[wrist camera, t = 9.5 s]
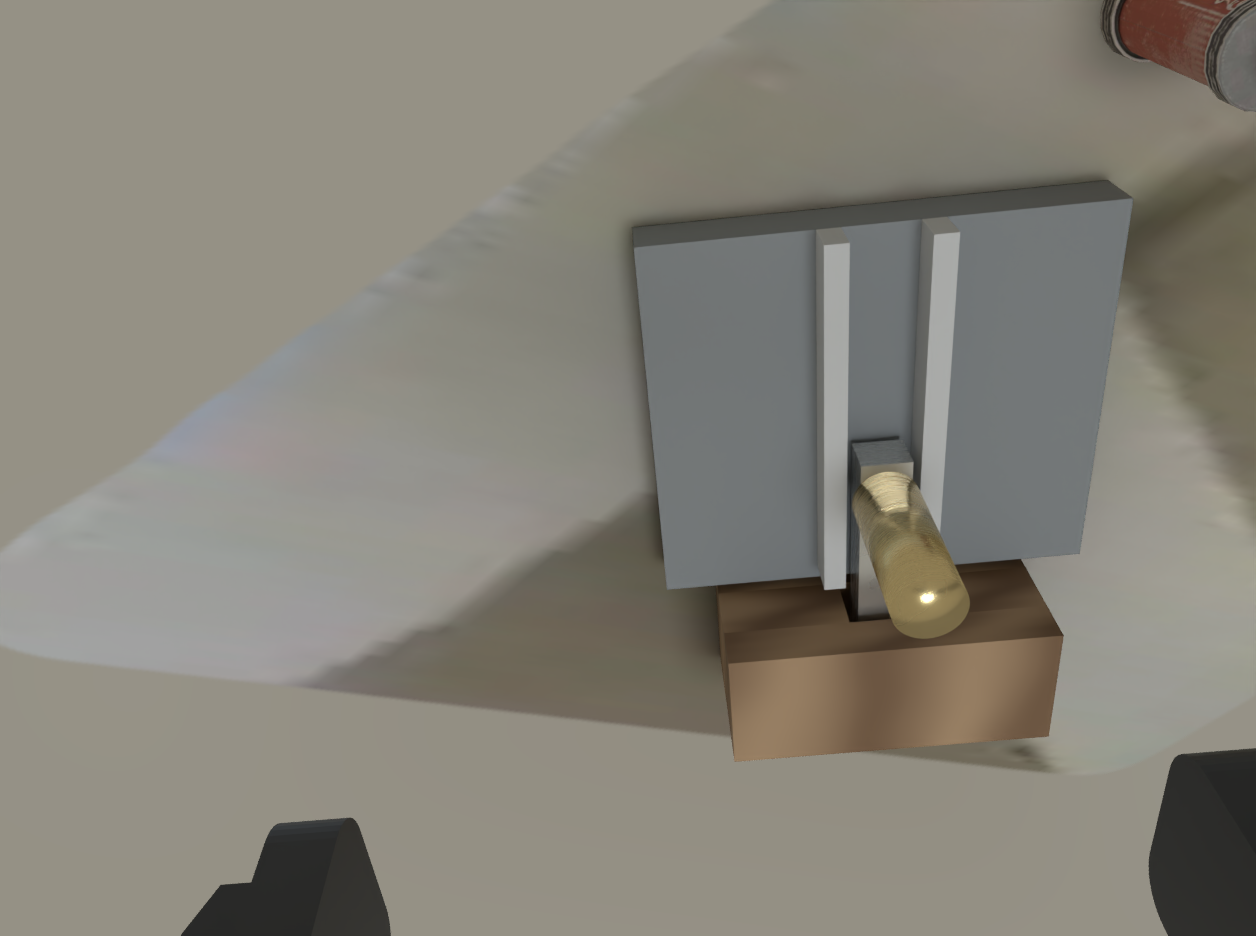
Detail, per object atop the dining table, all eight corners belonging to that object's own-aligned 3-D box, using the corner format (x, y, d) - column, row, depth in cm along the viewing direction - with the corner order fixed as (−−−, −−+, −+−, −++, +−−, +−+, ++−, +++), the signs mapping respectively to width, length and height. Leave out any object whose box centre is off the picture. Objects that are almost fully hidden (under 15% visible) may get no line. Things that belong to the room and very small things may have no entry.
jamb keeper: (1009, 539, 43) (1063, 635, 38) (999, 634, 46) (1048, 736, 41) (714, 564, 44) (728, 663, 39) (720, 657, 46) (734, 761, 41)
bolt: (910, 438, 38) (973, 565, 32) (902, 632, 43) (954, 777, 36) (843, 444, 38) (891, 572, 32) (841, 637, 43) (883, 783, 36)
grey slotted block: (1108, 180, 36) (1153, 212, 33) (1060, 524, 43) (1094, 577, 40) (632, 227, 36) (634, 263, 33) (664, 559, 44) (668, 613, 41)
